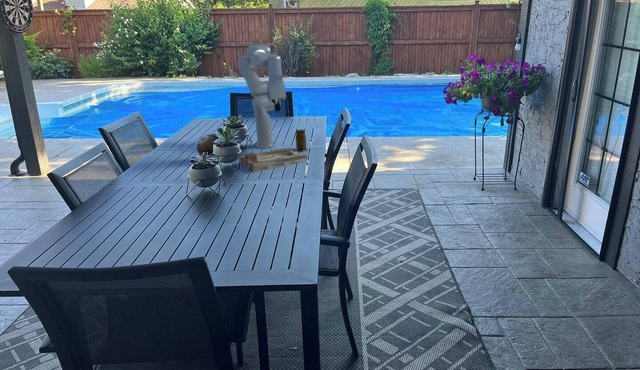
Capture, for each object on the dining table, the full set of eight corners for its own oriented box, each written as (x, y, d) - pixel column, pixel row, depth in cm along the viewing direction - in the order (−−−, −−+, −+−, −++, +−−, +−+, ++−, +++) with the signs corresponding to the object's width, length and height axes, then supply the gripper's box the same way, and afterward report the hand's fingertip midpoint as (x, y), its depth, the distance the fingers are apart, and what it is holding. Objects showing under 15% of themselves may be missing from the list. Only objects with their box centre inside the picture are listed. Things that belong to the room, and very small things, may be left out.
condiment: (302, 147, 298) (301, 128, 294) (311, 149, 292) (310, 130, 288) (293, 150, 294) (291, 130, 290) (301, 152, 288) (300, 132, 284)
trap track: (240, 163, 271) (239, 156, 270) (291, 153, 286) (291, 147, 284) (253, 172, 255) (253, 164, 253) (307, 161, 269) (307, 154, 268)
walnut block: (245, 161, 268) (244, 154, 267) (253, 159, 270) (253, 152, 269) (248, 163, 264) (247, 156, 263) (257, 161, 266) (256, 154, 265)
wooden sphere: (193, 162, 279) (189, 137, 274) (210, 155, 291) (207, 131, 286) (213, 164, 272) (210, 138, 267) (230, 157, 284) (227, 132, 279)
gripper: (284, 76, 276) (287, 108, 282) (260, 78, 270) (263, 111, 276) (290, 77, 270) (292, 110, 276) (265, 80, 263) (268, 113, 270)
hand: (277, 110), depth 276 cm, fingers closed
